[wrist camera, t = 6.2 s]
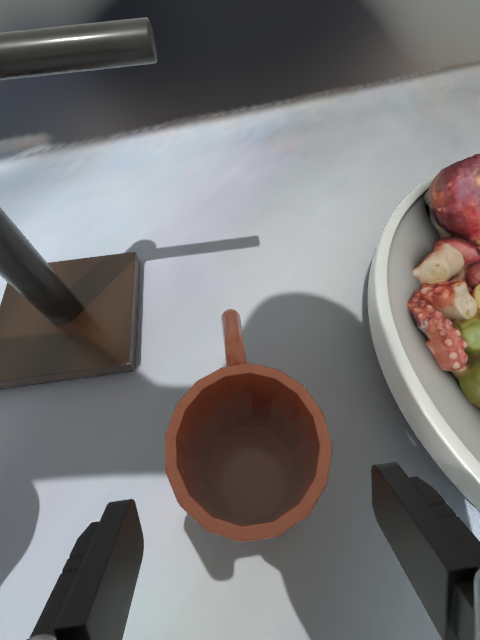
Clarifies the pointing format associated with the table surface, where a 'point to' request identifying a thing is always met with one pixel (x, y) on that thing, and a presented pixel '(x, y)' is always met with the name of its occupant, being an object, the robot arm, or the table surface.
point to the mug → (247, 447)
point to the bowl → (434, 317)
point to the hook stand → (72, 275)
